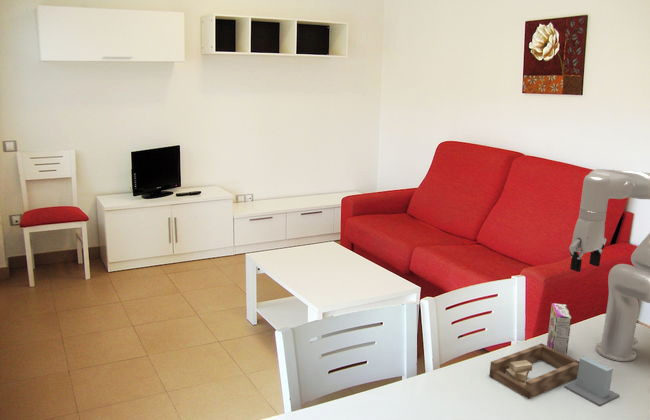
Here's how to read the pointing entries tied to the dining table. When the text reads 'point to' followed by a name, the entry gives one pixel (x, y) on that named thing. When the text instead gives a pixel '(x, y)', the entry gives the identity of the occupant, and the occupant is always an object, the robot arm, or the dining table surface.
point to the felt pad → (591, 394)
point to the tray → (540, 384)
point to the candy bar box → (559, 328)
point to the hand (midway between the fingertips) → (584, 267)
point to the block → (594, 377)
